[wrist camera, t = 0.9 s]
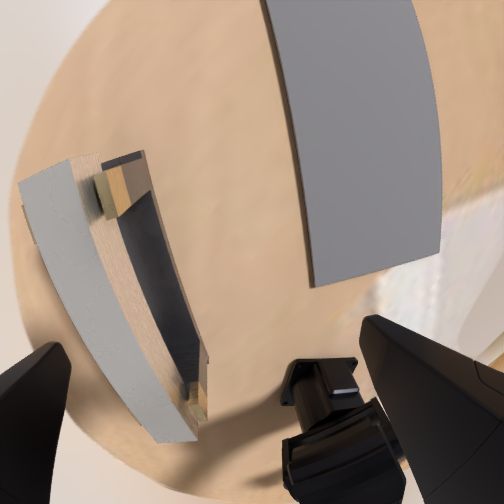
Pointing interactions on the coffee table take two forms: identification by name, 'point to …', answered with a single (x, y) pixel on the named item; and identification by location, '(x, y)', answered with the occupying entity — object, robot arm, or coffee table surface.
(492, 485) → the robot arm
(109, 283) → the rail
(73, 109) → the coffee table surface
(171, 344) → the grey stand
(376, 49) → the mat
